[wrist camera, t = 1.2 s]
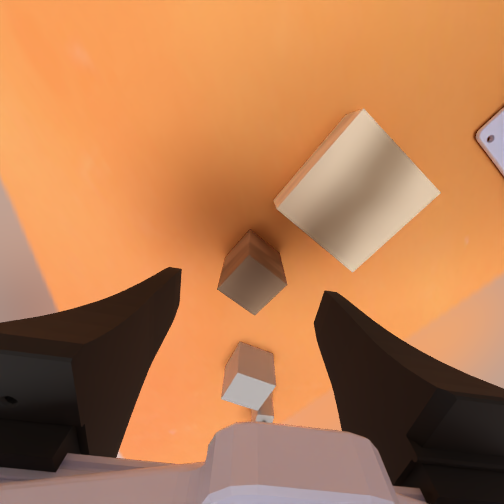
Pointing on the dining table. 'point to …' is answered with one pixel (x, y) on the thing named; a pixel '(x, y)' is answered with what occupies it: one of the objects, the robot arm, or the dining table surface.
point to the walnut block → (252, 273)
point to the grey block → (249, 377)
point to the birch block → (355, 191)
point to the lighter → (264, 411)
